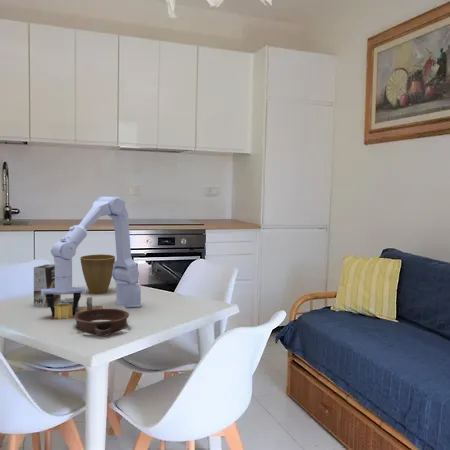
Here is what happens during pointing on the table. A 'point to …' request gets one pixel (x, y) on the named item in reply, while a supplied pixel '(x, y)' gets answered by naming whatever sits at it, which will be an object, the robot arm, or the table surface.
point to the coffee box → (44, 284)
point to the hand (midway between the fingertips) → (63, 314)
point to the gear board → (80, 309)
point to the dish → (102, 327)
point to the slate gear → (68, 302)
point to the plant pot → (97, 272)
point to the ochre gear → (63, 310)
